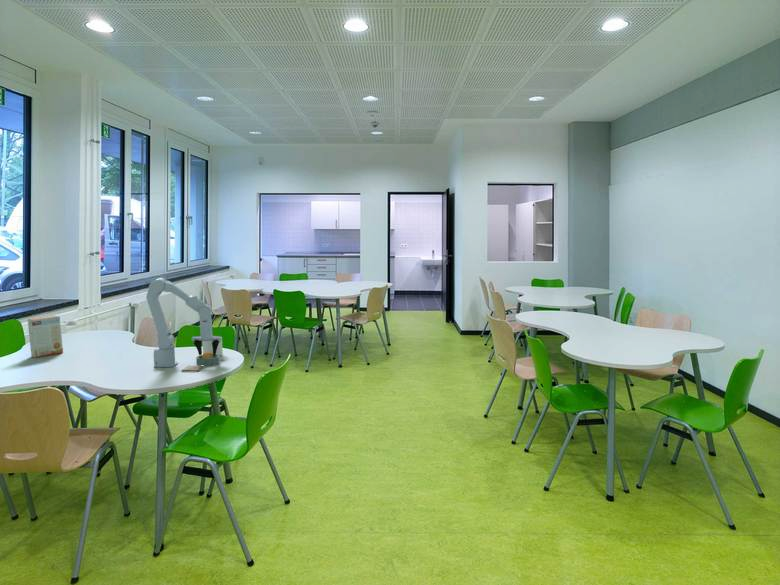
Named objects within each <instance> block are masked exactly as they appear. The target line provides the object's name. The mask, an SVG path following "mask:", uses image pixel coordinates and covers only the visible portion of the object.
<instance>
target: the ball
mask: <svg viewBox="0 0 780 585" xmlns="http://www.w3.org/2000/svg"><path fill="white" fill-rule="evenodd" d="M209 358H213V354H212V353H211V352H205V353H203V352H202V359H209Z"/></svg>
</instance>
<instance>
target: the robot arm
mask: <svg viewBox="0 0 780 585" xmlns="http://www.w3.org/2000/svg"><path fill="white" fill-rule="evenodd" d="M162 292H164V293H172V294H173V295H175V296H177V297H178V298H180V299H181V300H182V301H184V302H185V305H186V306H187V307H189V308H190V309H191V310H193V311H195V312H196V313H198V315H199V329H200V330H199V332H200V336H192V337H191V341H192V342H193V345H194V346H195V348H196V350H197V352H198V356H200V355H203V342H202V341H213V342H212V347H213V355H216V350H217V347H218V344H219V342H220V341H221V340H222V341H223V338H222V339H221V337H222V336H221V337H216V336H217V335H213V322H212V321H213V320H212V311H213V308H212V307H211V306H210V304H207V303H206V302H205V301H202V300H201V299H199V297H198V296H197V295H189V294H187V293H186V292H185V291H183V290H182V289H181V288H180V287H178V286H177V285H175V284H174V283H173V282H172V281H170V280H167V278H164V277H158V278H157V279H154V280H152V281H150V284H149V285H148V289H147V292H146V302H147V304H148V307H149V310H150V313H151V316H152V319H153V322H154V325H155V328H156V332H157V333H156V334H157V335H156V336H157V345H158V347H156V348H155V349H154V351H153V368H173V367H175V366H176V365H178V364H179V362H178V361H176V352H175V345H174V343H175V336H174V334H173V333H172V332H171V329H170V328H169V327H168V324H167V320H166V318H165V315H164V313H163V310H162V305H161V302H160V301H159V297H160V296H161V294H162Z"/></svg>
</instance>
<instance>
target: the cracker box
mask: <svg viewBox="0 0 780 585" xmlns="http://www.w3.org/2000/svg"><path fill="white" fill-rule="evenodd" d="M27 325H28V336H29V346H30V354H31V355H30V356H31V357H32V358H35V359H37V358H41V357H47V356H53V354H54V355H58V353H59V354H63V353H64V350H63V349H64V348H63V338H62V337H63V336H62V328H61V318H60V316H59V315H51V316H41V317H36V318H29V319H27Z"/></svg>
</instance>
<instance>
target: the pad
mask: <svg viewBox="0 0 780 585" xmlns="http://www.w3.org/2000/svg"><path fill="white" fill-rule="evenodd" d="M203 367H204V368H205V366H199V365H187V366H186V367H184V368H182V369H181V372H182V371H198V372H199V370H200V369H201V370H202V369H204V368H203ZM201 370H200V371H201Z"/></svg>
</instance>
